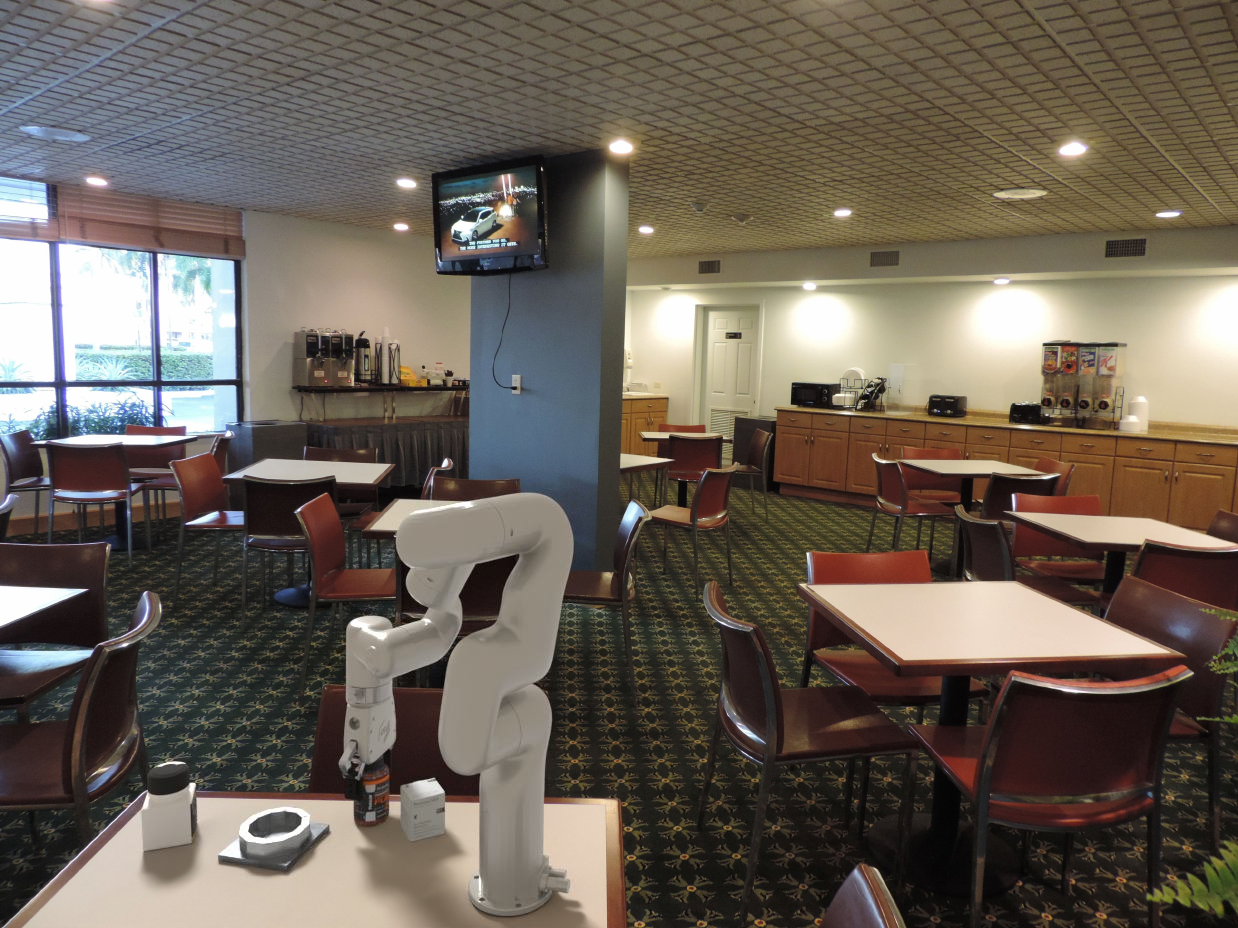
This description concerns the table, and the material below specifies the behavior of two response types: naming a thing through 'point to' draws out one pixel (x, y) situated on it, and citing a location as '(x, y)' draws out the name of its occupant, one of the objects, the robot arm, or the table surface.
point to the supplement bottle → (373, 795)
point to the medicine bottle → (169, 807)
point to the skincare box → (422, 809)
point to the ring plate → (277, 861)
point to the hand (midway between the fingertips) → (368, 784)
